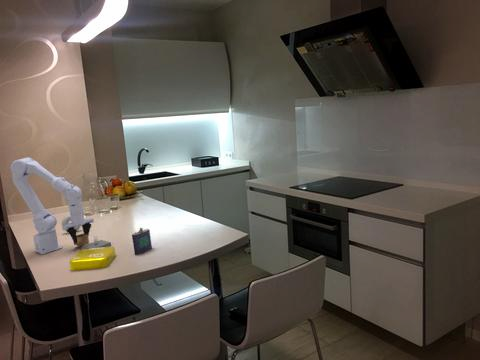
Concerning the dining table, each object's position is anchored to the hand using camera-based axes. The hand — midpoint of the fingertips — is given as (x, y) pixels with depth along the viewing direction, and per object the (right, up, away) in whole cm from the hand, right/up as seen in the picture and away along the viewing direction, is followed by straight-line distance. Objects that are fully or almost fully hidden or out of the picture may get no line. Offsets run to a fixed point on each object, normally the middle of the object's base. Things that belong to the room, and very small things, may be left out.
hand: (81, 240), depth 191 cm
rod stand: (+8, -3, -2) cm, 9 cm away
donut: (-14, 0, +26) cm, 30 cm away
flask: (+32, -3, -13) cm, 35 cm away
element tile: (+14, -6, -21) cm, 26 cm away
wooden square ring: (0, -1, 0) cm, 1 cm away
